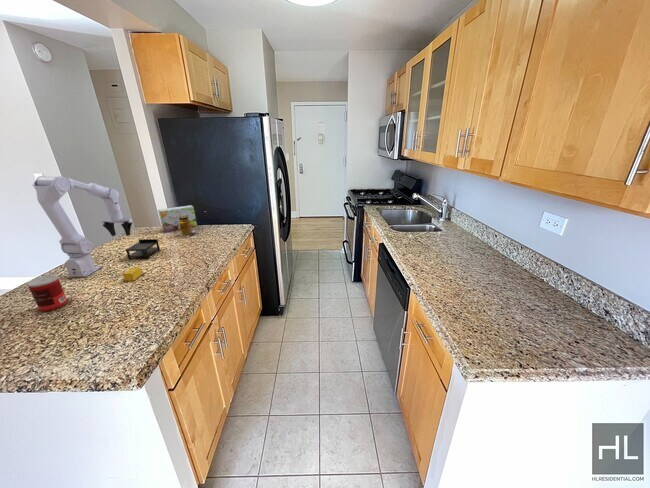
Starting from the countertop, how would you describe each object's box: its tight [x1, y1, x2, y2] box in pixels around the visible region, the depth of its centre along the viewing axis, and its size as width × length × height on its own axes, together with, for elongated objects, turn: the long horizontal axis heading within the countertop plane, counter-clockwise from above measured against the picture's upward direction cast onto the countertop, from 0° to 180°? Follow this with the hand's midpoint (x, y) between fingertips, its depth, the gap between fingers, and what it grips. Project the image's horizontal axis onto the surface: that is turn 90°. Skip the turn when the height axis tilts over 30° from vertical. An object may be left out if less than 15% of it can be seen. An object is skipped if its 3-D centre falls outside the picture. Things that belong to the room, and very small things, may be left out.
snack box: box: [157, 204, 198, 233], centre depth 181 cm, size 21×6×15 cm, turn 132°
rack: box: [125, 238, 161, 260], centre depth 140 cm, size 12×10×7 cm
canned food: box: [27, 274, 68, 312], centre depth 95 cm, size 8×8×11 cm
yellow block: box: [122, 267, 143, 282], centre depth 117 cm, size 6×4×4 cm, turn 3°
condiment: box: [179, 216, 197, 238], centre depth 170 cm, size 7×8×12 cm
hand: (121, 235), depth 141 cm, fingers open, 7 cm apart
